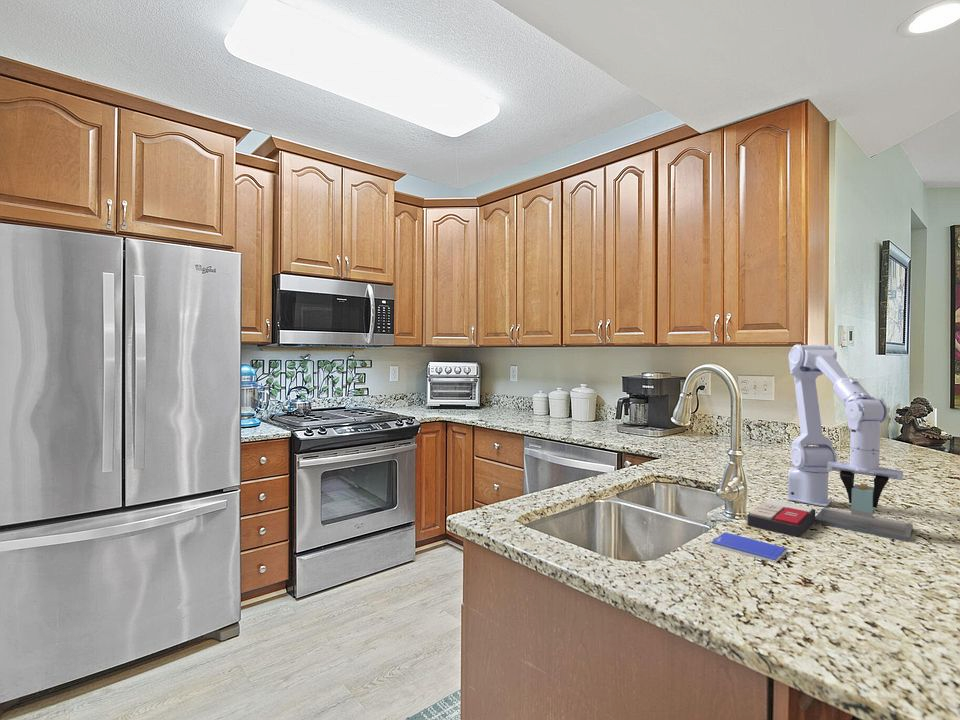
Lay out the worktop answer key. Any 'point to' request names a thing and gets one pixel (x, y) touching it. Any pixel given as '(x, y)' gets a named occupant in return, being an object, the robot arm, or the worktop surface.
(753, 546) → the hard drive
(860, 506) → the block
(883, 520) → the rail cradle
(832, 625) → the worktop surface
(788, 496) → the robot arm
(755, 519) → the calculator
